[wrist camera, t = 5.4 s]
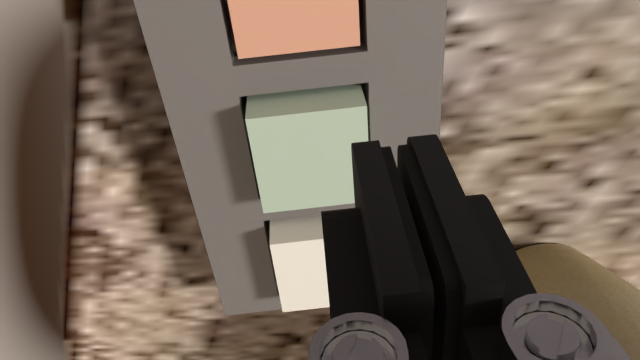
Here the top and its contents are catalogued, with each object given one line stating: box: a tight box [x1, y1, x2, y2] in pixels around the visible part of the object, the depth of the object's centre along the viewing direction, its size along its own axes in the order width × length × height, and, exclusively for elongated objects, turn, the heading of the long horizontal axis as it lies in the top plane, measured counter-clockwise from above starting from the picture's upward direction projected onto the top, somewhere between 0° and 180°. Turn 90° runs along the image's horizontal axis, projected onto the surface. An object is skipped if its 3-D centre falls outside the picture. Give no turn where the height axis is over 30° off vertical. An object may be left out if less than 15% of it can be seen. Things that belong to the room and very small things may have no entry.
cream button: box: [270, 214, 330, 312], centre depth 28 cm, size 5×5×2 cm
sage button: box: [245, 83, 368, 213], centre depth 24 cm, size 5×5×2 cm
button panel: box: [133, 0, 447, 316], centre depth 26 cm, size 22×12×4 cm, turn 5°
